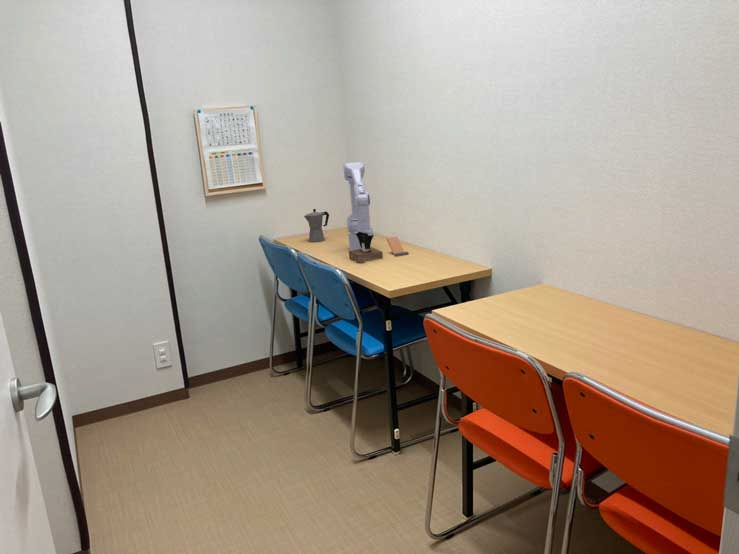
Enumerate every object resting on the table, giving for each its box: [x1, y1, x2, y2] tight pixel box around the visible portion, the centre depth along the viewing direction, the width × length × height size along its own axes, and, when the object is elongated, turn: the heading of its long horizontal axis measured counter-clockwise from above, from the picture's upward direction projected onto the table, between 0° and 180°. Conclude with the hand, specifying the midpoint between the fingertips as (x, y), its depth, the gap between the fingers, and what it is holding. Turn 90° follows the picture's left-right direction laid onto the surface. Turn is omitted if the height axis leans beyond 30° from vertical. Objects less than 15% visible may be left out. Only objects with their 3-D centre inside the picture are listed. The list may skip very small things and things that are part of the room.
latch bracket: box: [393, 251, 410, 258], centre depth 280 cm, size 2×7×2 cm, turn 116°
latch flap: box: [386, 236, 405, 255], centre depth 284 cm, size 11×6×1 cm
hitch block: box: [348, 246, 384, 264], centre depth 278 cm, size 12×12×4 cm
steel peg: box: [362, 242, 369, 253], centre depth 278 cm, size 3×3×8 cm
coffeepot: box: [303, 208, 330, 243], centre depth 326 cm, size 15×9×18 cm, turn 122°
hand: (365, 248), depth 277 cm, fingers open, 4 cm apart
